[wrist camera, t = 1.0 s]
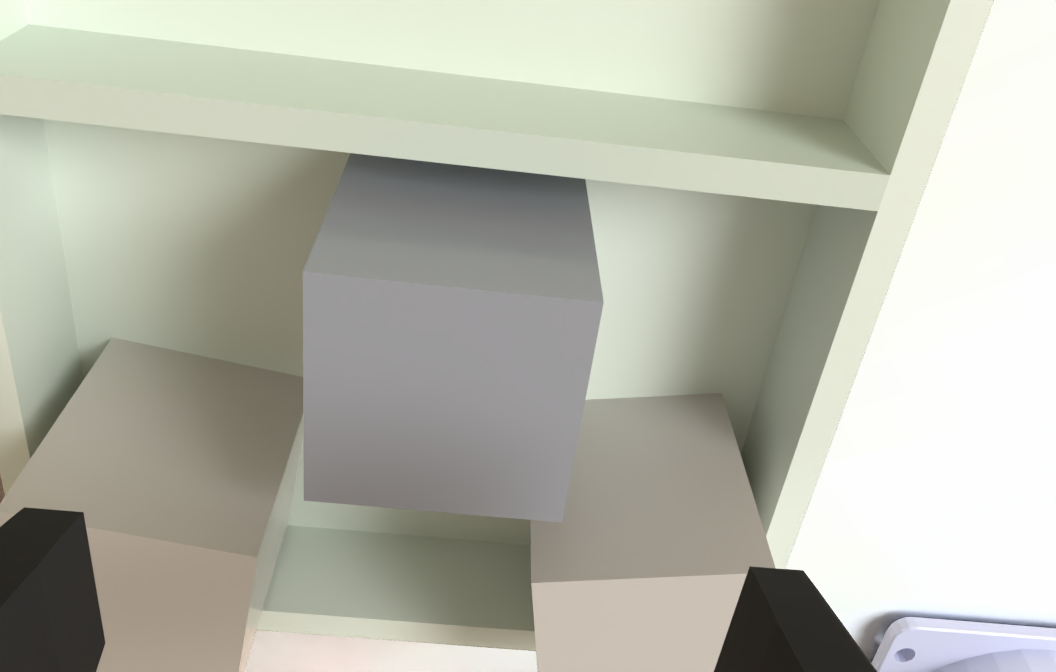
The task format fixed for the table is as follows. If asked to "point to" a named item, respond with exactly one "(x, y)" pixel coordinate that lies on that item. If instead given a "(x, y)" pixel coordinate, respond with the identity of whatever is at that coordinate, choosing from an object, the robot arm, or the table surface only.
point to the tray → (479, 141)
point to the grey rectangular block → (448, 339)
